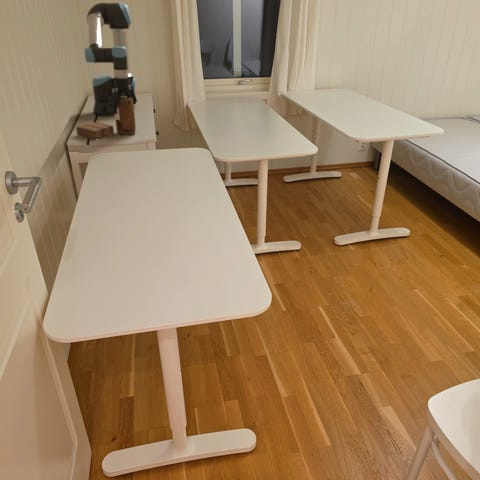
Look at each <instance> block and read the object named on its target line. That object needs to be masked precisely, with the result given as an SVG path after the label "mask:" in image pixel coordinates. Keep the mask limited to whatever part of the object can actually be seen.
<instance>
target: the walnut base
mask: <svg viewBox="0 0 480 480" xmlns="http://www.w3.org/2000/svg"><path fill="white" fill-rule="evenodd" d="M75 128H76V135H77V136H78V135H79V136H78V137H81V136H82V137H81V138H84V137H86V138H85V139H87V138H88V140H91V139H92V140H91V141H94V140H95V141H97V140H96V139H98V140H101V139H100V138H102V139H104V137H105V138H107V137H111V136H114V135H115V134H114V126H113V125H110V124H106V123H102V122H97V121H93V122H89V123H84V124H82V125H79V126H76V127H75Z"/></svg>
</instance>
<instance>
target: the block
mask: <svg viewBox="0 0 480 480" xmlns="http://www.w3.org/2000/svg"><path fill="white" fill-rule="evenodd" d="M117 108H119V118H120V120H117V119H115V126H116V128H115V129H116V132H117V134H119V135H121V134H122V135H133V134H135V133H136V118H135V117H136V115H135V116H134V112H135V109H134V105H133V99H132V98H131V97H121V98H120V101H119V104H118V107H117Z"/></svg>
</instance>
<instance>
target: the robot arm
mask: <svg viewBox="0 0 480 480" xmlns="http://www.w3.org/2000/svg"><path fill="white" fill-rule="evenodd" d="M86 23H87V25H88V47H85V48H84V57H85V61H86V62H87V63H91V64H92V63H93V64H95V63H97V64H99V63H100V64H101V63H103V64H104V63H108V64H110V63H111V64H113V77H112V76H111V74H110V75H109V74H104V75H98V76H95V77H93V79H92V89H93V98H94V105H93V110H92V111H93V115H95V116H99V117H110V116H114V119H115V120H116V119H117V120H120V118H119V108H117V107H118V104H119V101H120V98H121V97H131V98H132V99H133V105H134V110H135V109H136V106H135V105H136V103H137V102H138V99H137V97H136V94H135V93H136V78H135V77H134V74H133V73H131V68H130V66H131V65H130V54H129V42H128V41H129V40H128V31H129V29H130V26H131V25H132V22H131V16H130V12H129V7H128V5H127V3H122V2H120V3H119V2H100V3H96V4H94V5H93V6H92V7H90V9H89V10H88V12H87V14H86ZM105 25H106V26H107V25H108V26H109V29H110V30H111V33H112V42H113V46H112V47H104V41H103V40H104V39H103V38H104V36H103V32H104V31H103V27H104V26H105ZM135 112H136V111H134V116H135V117H136V115H135V114H136V113H135Z"/></svg>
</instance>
